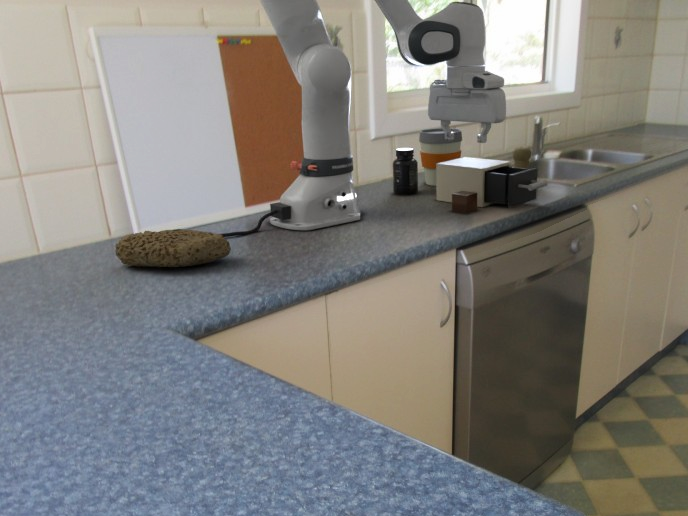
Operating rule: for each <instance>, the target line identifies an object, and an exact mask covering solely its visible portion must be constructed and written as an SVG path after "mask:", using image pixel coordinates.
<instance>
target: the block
mask: <svg viewBox="0 0 688 516" xmlns="http://www.w3.org/2000/svg"><path fill="white" fill-rule="evenodd" d="M476 211H478V207H477V193H476V192H468V191H460V192H456V193H453V194H452V202H451V213H459V214H464V215H467V214H471V213H473V212H476Z"/></svg>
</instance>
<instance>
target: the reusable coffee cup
mask: <svg viewBox="0 0 688 516" xmlns="http://www.w3.org/2000/svg"><path fill="white" fill-rule="evenodd" d="M450 129H451V132H454V140H445V133H444V131H443V129H442V127H441V128H428V129H422V130H420V131H419V137H418V142H419V143H420V151H419V155H420V162H421V167H422V168H423V172H424V180H425V181H424V182H425V184H426V185H429V186H435V187H437V185H436V163H441V162H445V161H450V160H454V159H458V158H462V157H461V156H462V149H461V145H462V142H463V134H462V130H461V129H460V128H459V129H458V128H450Z"/></svg>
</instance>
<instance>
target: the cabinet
mask: <svg viewBox="0 0 688 516" xmlns="http://www.w3.org/2000/svg"><path fill="white" fill-rule="evenodd" d="M503 166H507V167H512V161H510V160H502V159H501V160H500V159H499V160H498V159H489V158H482V157H481V158H480V157H472V156H471V157H470V156H464V157H461V158H458V159H454V160H450V161H445V162H441V163H436V185H437V186H436V201H440V202H446V203H452V194H453V193H456V192H460V191H468V192H476V193H477V208H478V207H479V208H484V207H488V206H490V205H495V203H492V202H485V201H484V177H485V172H484V171H488V170H492V169H496V168H500V167H503Z"/></svg>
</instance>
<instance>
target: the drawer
mask: <svg viewBox="0 0 688 516" xmlns="http://www.w3.org/2000/svg"><path fill="white" fill-rule="evenodd" d="M538 171H539V170H538V167H532V168H530V169H528V170H527V169H526V168H517V167H513V166H511V167H507V166H503V167H500V168H496V169H492V170H488V171H484V172H485V177H484V201H485V202H492V203H494V204H498V205H507V208H515V207H517V206H520V205H524V204H526V203H529V202H532V201H535V200H537V193H538V191H537V190H538V189H541V188H545V187H547V186H548V183H549V182H548V181H547V180H546V179H543V180H538Z"/></svg>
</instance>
